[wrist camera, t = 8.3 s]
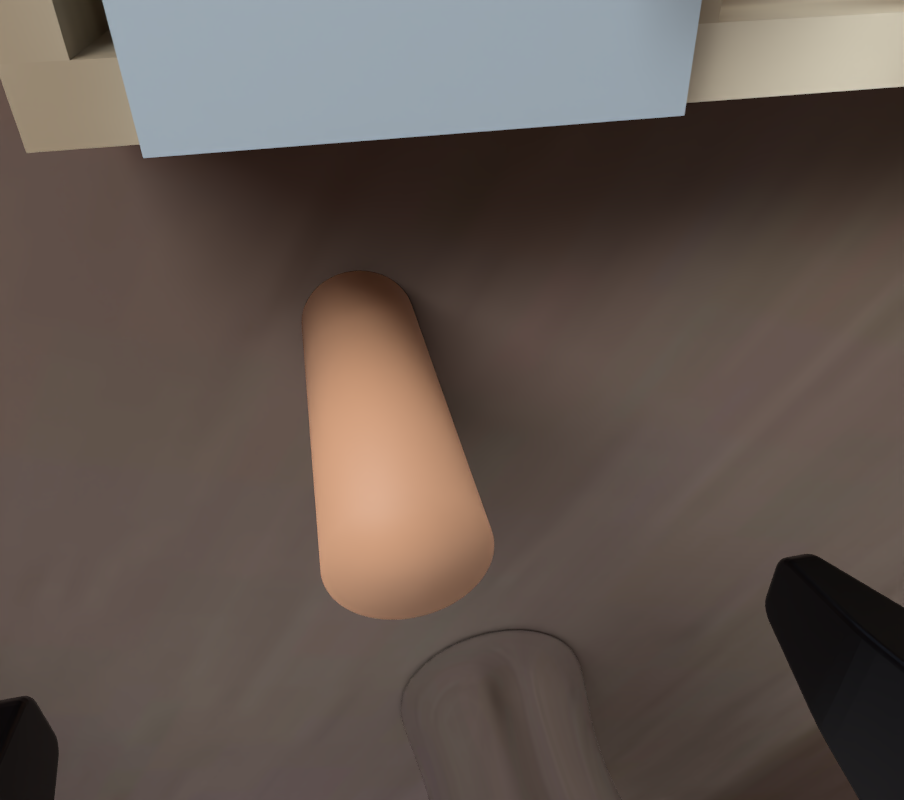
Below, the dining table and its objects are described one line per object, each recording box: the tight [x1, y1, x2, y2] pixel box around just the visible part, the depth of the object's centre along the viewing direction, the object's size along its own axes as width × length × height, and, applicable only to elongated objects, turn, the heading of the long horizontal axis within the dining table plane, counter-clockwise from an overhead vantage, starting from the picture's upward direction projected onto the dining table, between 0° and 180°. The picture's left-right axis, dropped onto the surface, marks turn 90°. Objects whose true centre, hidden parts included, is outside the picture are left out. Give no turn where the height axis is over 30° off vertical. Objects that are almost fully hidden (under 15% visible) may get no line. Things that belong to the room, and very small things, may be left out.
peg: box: [302, 271, 494, 620], centre depth 13 cm, size 2×2×7 cm
